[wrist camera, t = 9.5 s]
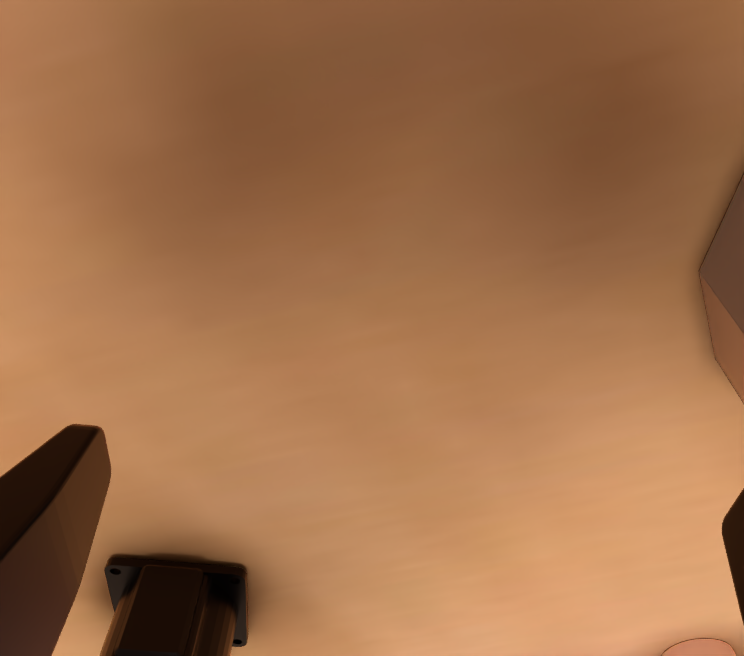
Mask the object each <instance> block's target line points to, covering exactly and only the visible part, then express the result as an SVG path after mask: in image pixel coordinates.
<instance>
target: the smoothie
mask: <svg viewBox="0 0 744 656" xmlns="http://www.w3.org/2000/svg"><path fill="white" fill-rule="evenodd" d="M662 656H736V654H735V652H734V651H733V649H732V647H731V646H730V645H729V644H727V643H725V642H723V641H720V640H716V639H694V640H689V641H685V642H681V643H679V644H676V645H674V646H672V647H670V648H669V649H667V650H666V651H665V652H664V653H663V654H662Z"/></svg>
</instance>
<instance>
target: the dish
mask: <svg viewBox="0 0 744 656" xmlns="http://www.w3.org/2000/svg"><path fill="white" fill-rule="evenodd" d="M699 274H700V280H701V285H702V290H703V296H704V301H705V306H706V312H707V317H708V323H709V328H710V333H711V339H712V344H713V349H714V355H715V359H716V360H717V362H718V364H719V365H720V367H721V368H722V370H723V372H724V373H725V375H726V376H727V378H728V380H729V381H730V383H731V384H732V386H733V388H734V389H735V391H736V392H737V394H738V396H739V397H740V399H741V400H742V402H743V403H744V175H743V177H742V179H741V182H740V184H739V186H738V188H737V190H736V192H735V195H734V197H733V199H732V201H731V203H730V205H729V207H728V210H727V212H726V214H725V216H724V218H723V220H722V223H721V225H720V227H719V229H718V231H717V233H716V236H715V238H714V240H713V242H712V244H711V246H710V249H709V251H708V253H707V255H706V257H705V259H704V261H703V264H702V266H701V268H700V270H699Z"/></svg>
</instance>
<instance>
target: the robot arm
mask: <svg viewBox="0 0 744 656" xmlns="http://www.w3.org/2000/svg"><path fill="white" fill-rule="evenodd" d="M110 478H111V464H110V459H109V454H108V449H107V444H106V439H105V434H104V431H103V430H102V428H101V427H98V426H92V425H81V424H72V425H69V426H67V427H65V428H64V429H63V430H61V431H60V432H59V433H57V434H56V435H55V436H53V437H52V438H51V439H49V440H48V441H47V442H46V443H44V444H43V445H42V446H40V447H39V448H38V449H36V450H35V451H34V452H32V453H31V454H30V455H29V456H27V457H26V458H25V459H23V460H22V461H21V462H19V463H18V464H17V465H15V466H14V467H13V468H12V469H10V470H9V471H8V472H6V473H5V474H4V475H2V476H1V477H0V656H51V655H52V653H53V651H54V648H55V646H56V643H57V641H58V639H59V636H60V634H61V631H62V629H63V626H64V624H65V622H66V619H67V617H68V614H69V612H70V610H71V607H72V605H73V602H74V600H75V597H76V594H77V592H78V589H79V586H80V583H81V580H82V577H83V573H84V570H85V567H86V563H87V560H88V556H89V553H90V549H91V546H92V543H93V539H94V536H95V532H96V529H97V525H98V522H99V518H100V515H101V511H102V508H103V504H104V501H105V497H106V494H107V491H108V487H109V483H110ZM722 536H723V541H724V545H725V549H726V553H727V557H728V562H729V566H730V570H731V574H732V579H733V583H734V587H735V591H736V595H737V600H738V604H739V608H740V612H741V616H742V621H743V624H744V489H743V490H742V492H741V493H740V495H739V496H738V498H737V499H736V501H735V502H734V504H733V505H732V507H731V508H730V510H729V511H728V513H727V514H726V516H725V517H724V520H723V523H722ZM105 575H106V579H107V583H108V587H109V591H110V596H111V600H112V604H113V608H114V612H115V614H114V616H113V619H112V622H111V625H110V628H109V630H108V633H107V636H106V639H105V642H104V645H103V647H102V650H101V653H100V656H230V653H231V648H232V646H234V647H242V646H245V645H246V644H247V639H248V600H247V573H246V571H245V570H244V569H242V568H239V567H231V566H218V565H205V564H193V563H180V562H167V561H154V560H142V559H129V558H111V559H109V560H108V561H107V564H106V566H105Z"/></svg>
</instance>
